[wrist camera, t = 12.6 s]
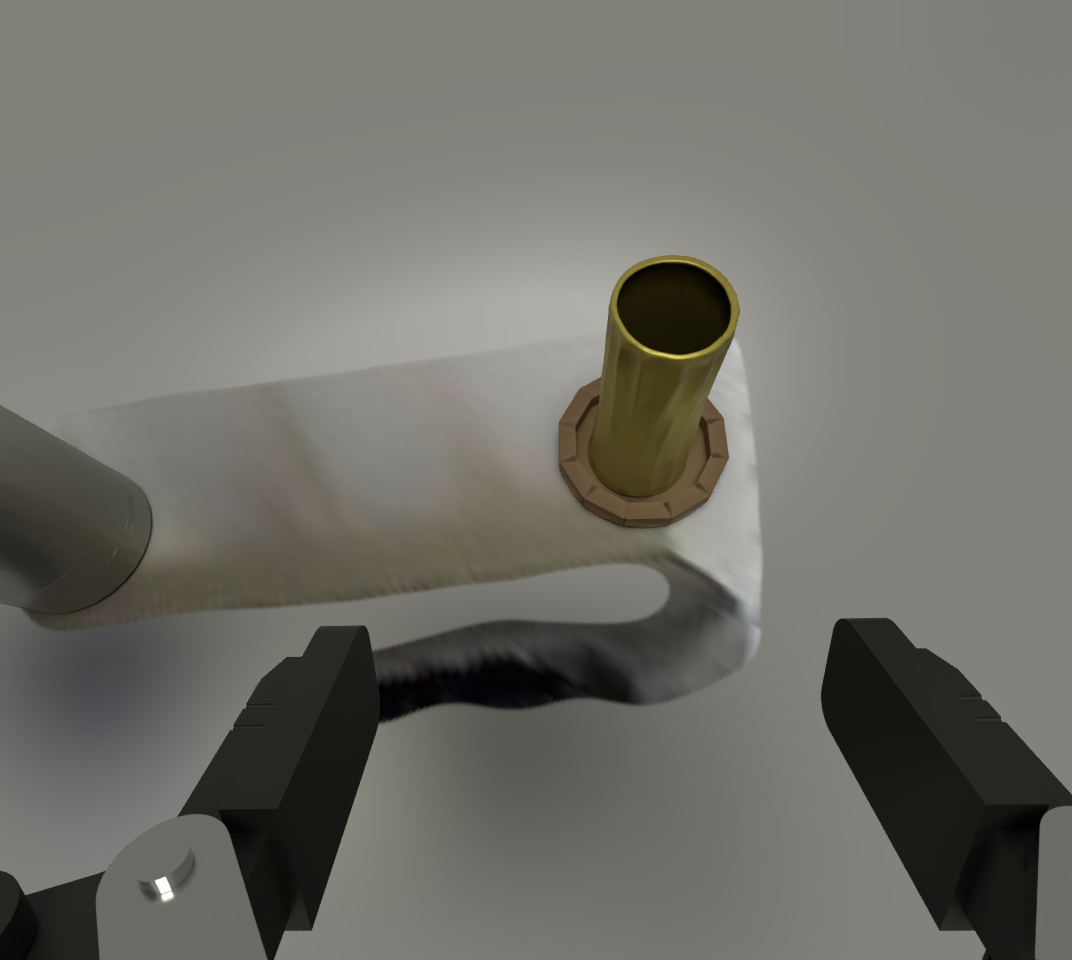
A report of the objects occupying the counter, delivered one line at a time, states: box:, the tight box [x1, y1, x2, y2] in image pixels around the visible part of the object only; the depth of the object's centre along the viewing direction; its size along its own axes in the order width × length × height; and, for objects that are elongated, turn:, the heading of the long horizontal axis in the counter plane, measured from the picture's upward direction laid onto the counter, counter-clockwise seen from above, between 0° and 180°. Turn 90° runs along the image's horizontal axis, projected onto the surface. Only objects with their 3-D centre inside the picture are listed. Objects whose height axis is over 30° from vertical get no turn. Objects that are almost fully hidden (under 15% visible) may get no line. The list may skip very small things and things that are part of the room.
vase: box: [588, 255, 740, 497], centre depth 31 cm, size 6×6×14 cm
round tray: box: [559, 377, 729, 528], centre depth 38 cm, size 10×10×2 cm
